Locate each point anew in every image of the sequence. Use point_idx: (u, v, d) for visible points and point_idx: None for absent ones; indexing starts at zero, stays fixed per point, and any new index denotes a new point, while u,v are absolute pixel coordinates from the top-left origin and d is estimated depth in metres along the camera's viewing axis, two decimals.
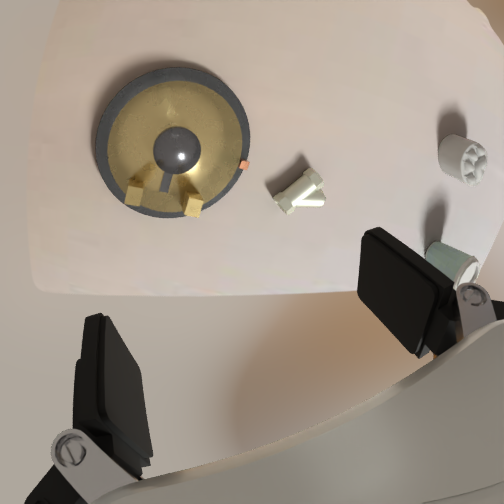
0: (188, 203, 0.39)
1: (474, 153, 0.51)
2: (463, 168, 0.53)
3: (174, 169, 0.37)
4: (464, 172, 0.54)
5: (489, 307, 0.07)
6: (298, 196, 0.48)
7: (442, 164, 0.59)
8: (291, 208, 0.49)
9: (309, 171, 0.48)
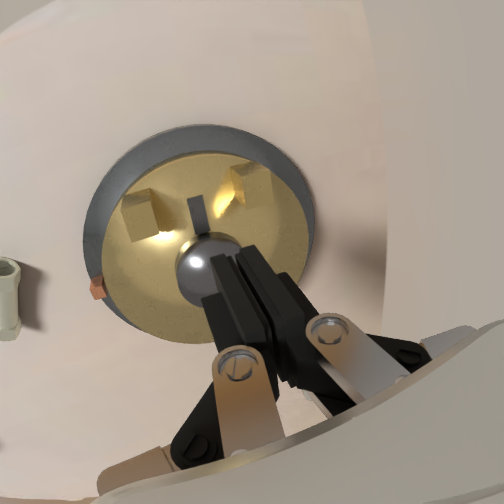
0: (154, 224, 0.19)
1: None
2: None
3: (205, 253, 0.22)
4: None
5: (357, 332, 0.07)
6: (1, 304, 0.21)
7: None
8: None
9: (18, 329, 0.24)
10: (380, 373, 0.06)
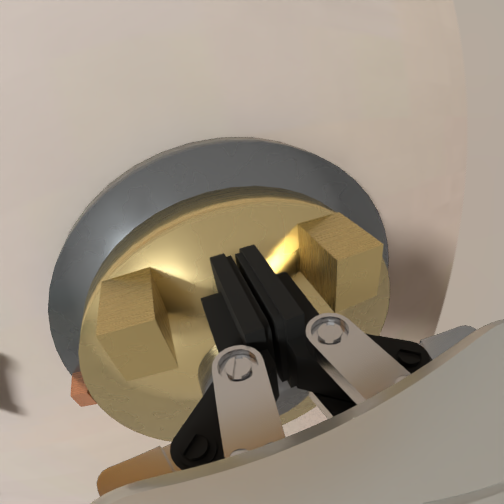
0: (167, 354, 0.09)
1: None
2: None
3: None
4: None
5: (357, 332, 0.07)
6: None
7: None
8: None
9: None
10: (380, 373, 0.06)
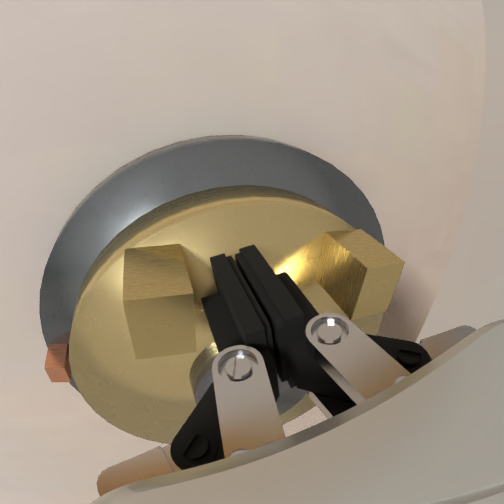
0: (191, 335, 0.09)
1: None
2: None
3: None
4: None
5: (356, 332, 0.07)
6: None
7: None
8: None
9: None
10: (380, 373, 0.06)
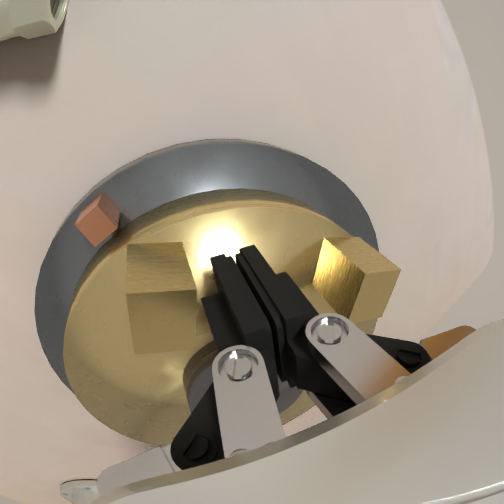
0: (191, 332, 0.09)
1: None
2: None
3: None
4: None
5: (356, 332, 0.07)
6: None
7: None
8: None
9: None
10: (380, 373, 0.06)
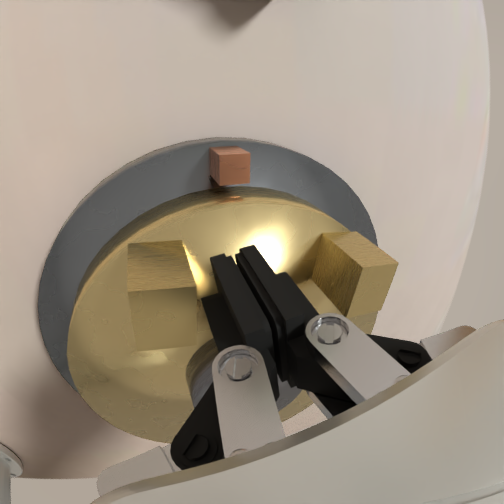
0: (192, 328, 0.09)
1: None
2: None
3: None
4: None
5: (356, 332, 0.07)
6: None
7: None
8: None
9: None
10: (380, 373, 0.06)
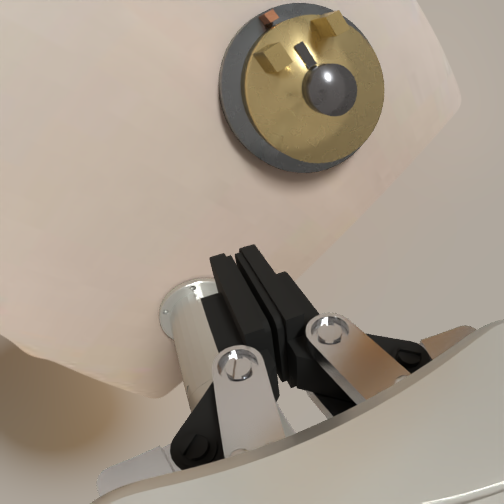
0: (287, 56, 0.24)
1: None
2: None
3: (322, 73, 0.27)
4: None
5: (356, 332, 0.07)
6: None
7: None
8: None
9: None
10: (380, 373, 0.06)
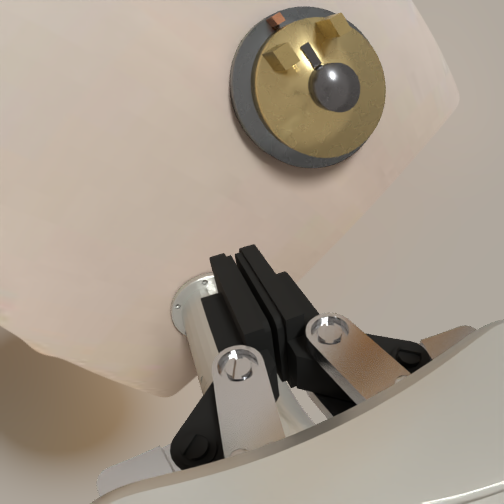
0: (295, 55, 0.26)
1: None
2: None
3: (328, 71, 0.28)
4: None
5: (356, 332, 0.07)
6: None
7: None
8: None
9: None
10: (380, 373, 0.06)
